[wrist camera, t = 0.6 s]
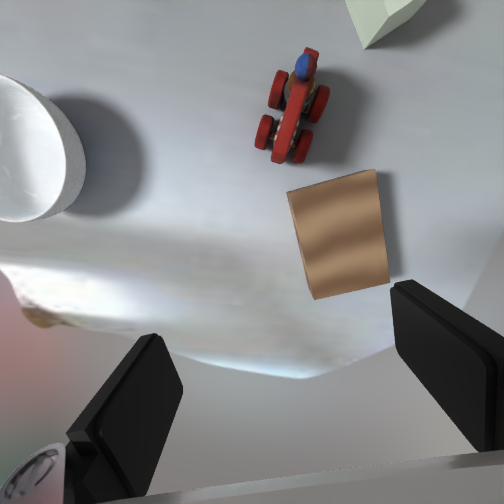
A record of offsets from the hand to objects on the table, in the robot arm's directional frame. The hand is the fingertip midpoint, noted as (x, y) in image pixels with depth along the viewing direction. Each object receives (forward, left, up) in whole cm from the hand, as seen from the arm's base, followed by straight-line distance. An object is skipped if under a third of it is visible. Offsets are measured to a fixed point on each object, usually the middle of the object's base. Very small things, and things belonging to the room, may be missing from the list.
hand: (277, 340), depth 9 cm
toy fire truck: (-13, +7, -28) cm, 31 cm away
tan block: (+4, +10, -28) cm, 30 cm away
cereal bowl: (-18, -28, -28) cm, 43 cm away
